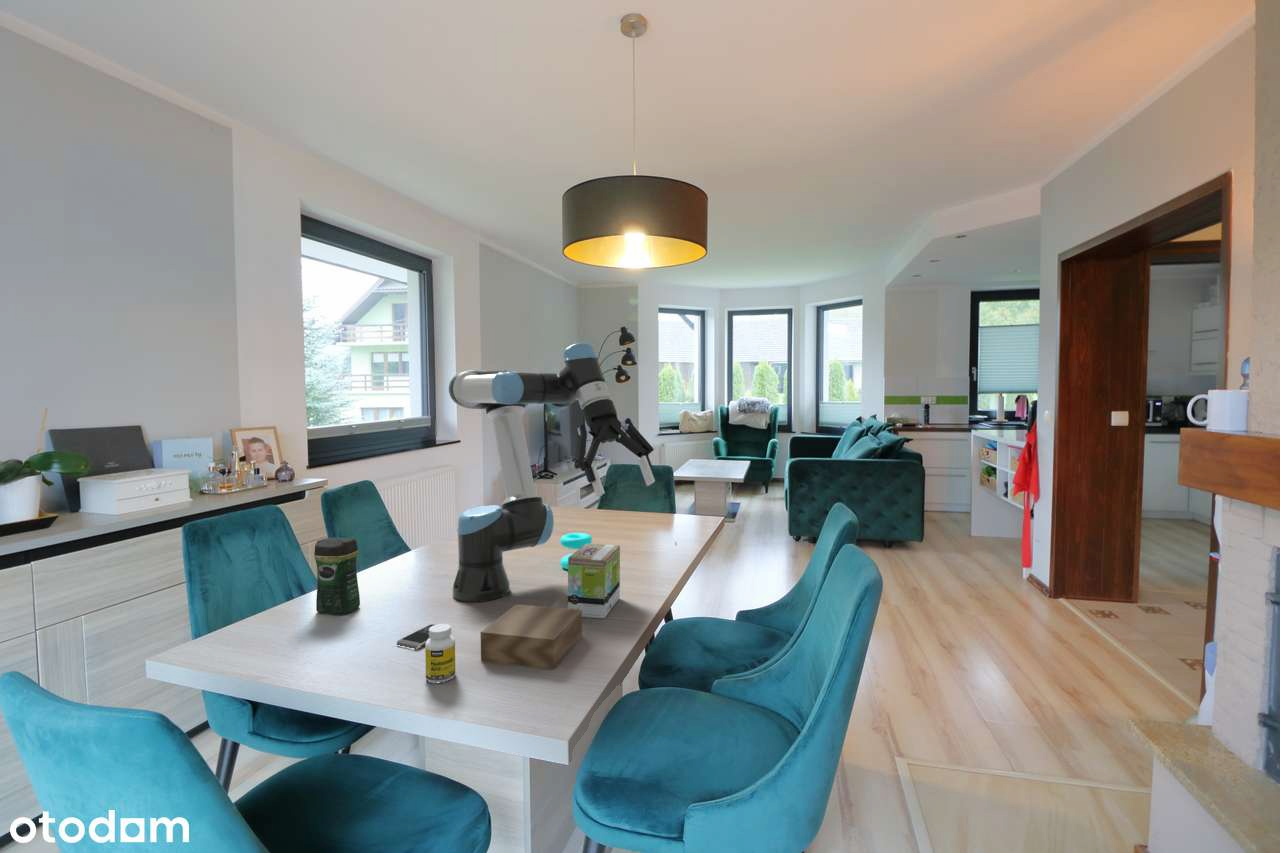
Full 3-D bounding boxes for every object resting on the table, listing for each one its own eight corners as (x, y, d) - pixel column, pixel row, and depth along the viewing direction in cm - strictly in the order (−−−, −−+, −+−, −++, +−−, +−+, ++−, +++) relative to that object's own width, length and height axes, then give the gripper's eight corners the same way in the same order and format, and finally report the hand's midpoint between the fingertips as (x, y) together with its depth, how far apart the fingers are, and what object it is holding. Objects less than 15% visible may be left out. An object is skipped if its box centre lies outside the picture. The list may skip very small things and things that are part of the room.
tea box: (606, 619, 138) (605, 559, 137) (566, 616, 140) (565, 557, 139) (620, 598, 153) (620, 543, 152) (584, 595, 155) (584, 542, 154)
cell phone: (453, 633, 131) (452, 627, 131) (416, 653, 121) (416, 646, 121) (432, 629, 134) (432, 623, 134) (394, 648, 124) (394, 641, 124)
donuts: (596, 533, 184) (584, 540, 175) (596, 563, 185) (585, 572, 175) (568, 531, 187) (555, 538, 178) (568, 561, 188) (555, 570, 178)
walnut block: (481, 660, 116) (480, 632, 116) (516, 629, 132) (516, 604, 132) (554, 669, 113) (553, 639, 112) (581, 636, 128) (581, 610, 128)
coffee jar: (365, 605, 148) (363, 535, 147) (344, 617, 140) (342, 542, 139) (332, 603, 150) (330, 533, 149) (310, 614, 142) (307, 541, 141)
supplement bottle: (427, 687, 106) (426, 635, 106) (424, 674, 111) (422, 625, 110) (457, 680, 109) (456, 629, 108) (453, 668, 113) (452, 620, 113)
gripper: (554, 403, 123) (585, 494, 118) (647, 392, 138) (678, 473, 132) (542, 418, 129) (571, 505, 123) (632, 406, 143) (662, 484, 138)
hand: (626, 489), depth 128 cm, fingers open, 13 cm apart
